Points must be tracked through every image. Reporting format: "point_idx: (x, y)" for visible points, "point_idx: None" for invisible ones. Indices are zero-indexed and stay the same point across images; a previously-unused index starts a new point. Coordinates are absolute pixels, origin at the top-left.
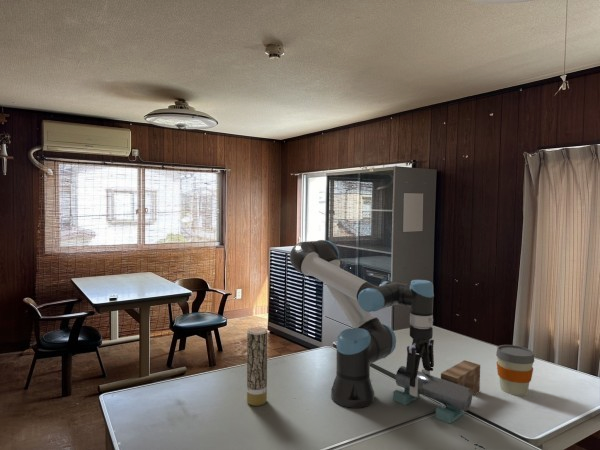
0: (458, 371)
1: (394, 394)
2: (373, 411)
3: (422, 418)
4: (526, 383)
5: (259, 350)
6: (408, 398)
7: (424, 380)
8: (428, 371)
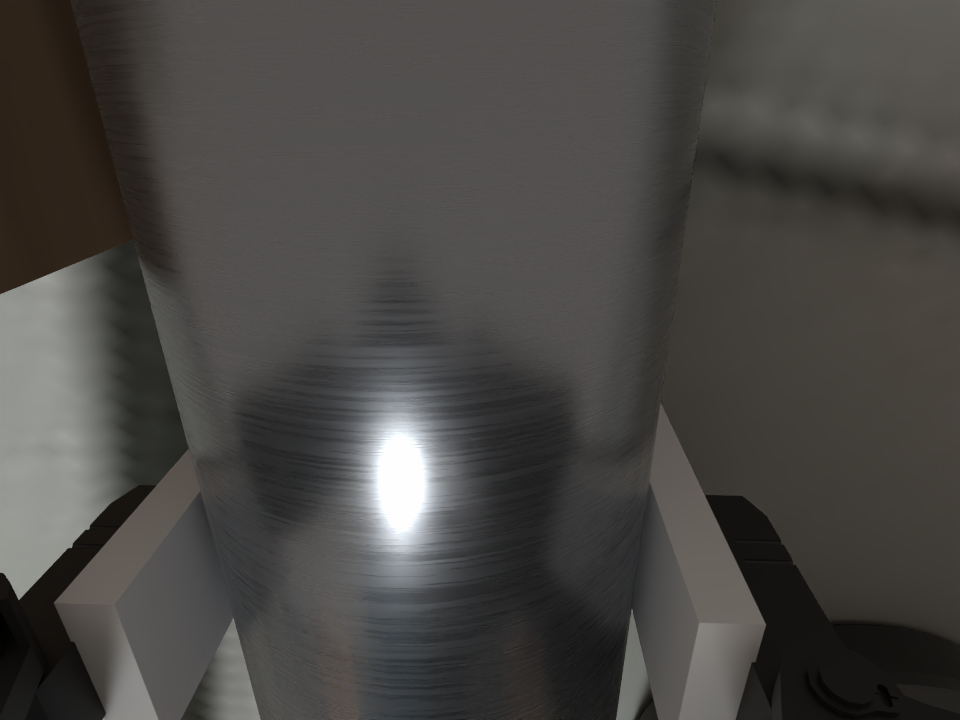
0: None
1: None
2: (953, 553)
3: (791, 130)
4: None
5: None
6: None
7: (612, 454)
8: (109, 617)
